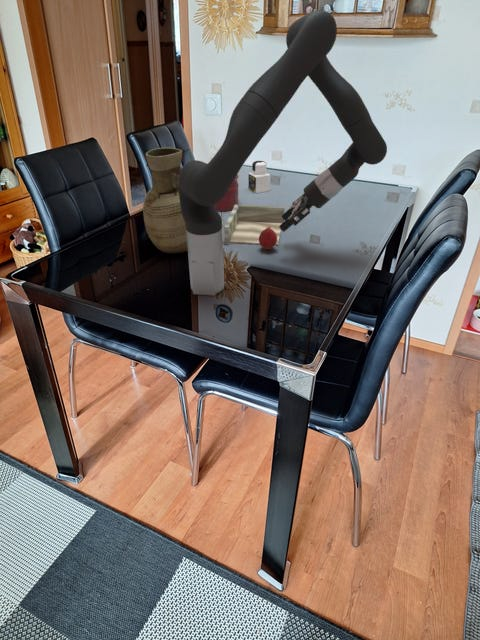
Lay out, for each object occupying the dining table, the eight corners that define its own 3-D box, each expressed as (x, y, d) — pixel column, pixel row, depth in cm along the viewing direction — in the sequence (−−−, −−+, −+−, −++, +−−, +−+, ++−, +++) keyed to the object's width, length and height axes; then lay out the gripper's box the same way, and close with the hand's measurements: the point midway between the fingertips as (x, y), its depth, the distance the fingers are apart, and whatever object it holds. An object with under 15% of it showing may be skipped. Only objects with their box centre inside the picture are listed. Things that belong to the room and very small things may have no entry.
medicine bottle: (248, 188, 190) (248, 160, 184) (262, 186, 193) (263, 158, 186) (255, 193, 185) (255, 164, 178) (270, 191, 187) (270, 162, 181)
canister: (243, 209, 170) (243, 162, 160) (212, 213, 166) (210, 166, 156) (232, 199, 180) (231, 154, 170) (202, 203, 176) (199, 158, 166)
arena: (279, 247, 140) (279, 229, 137) (224, 244, 143) (224, 226, 139) (283, 222, 157) (284, 206, 154) (235, 220, 160) (234, 204, 156)
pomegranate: (275, 254, 136) (276, 230, 131) (257, 253, 137) (257, 229, 132) (277, 246, 141) (278, 223, 136) (260, 245, 142) (260, 222, 137)
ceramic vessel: (199, 229, 153) (193, 140, 136) (211, 254, 136) (206, 156, 119) (145, 235, 149) (132, 144, 132) (150, 262, 132) (136, 161, 115)
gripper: (315, 171, 130) (276, 207, 138) (314, 186, 118) (271, 224, 126) (331, 190, 132) (291, 223, 140) (332, 206, 120) (288, 241, 128)
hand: (282, 223), depth 133 cm, fingers open, 8 cm apart
